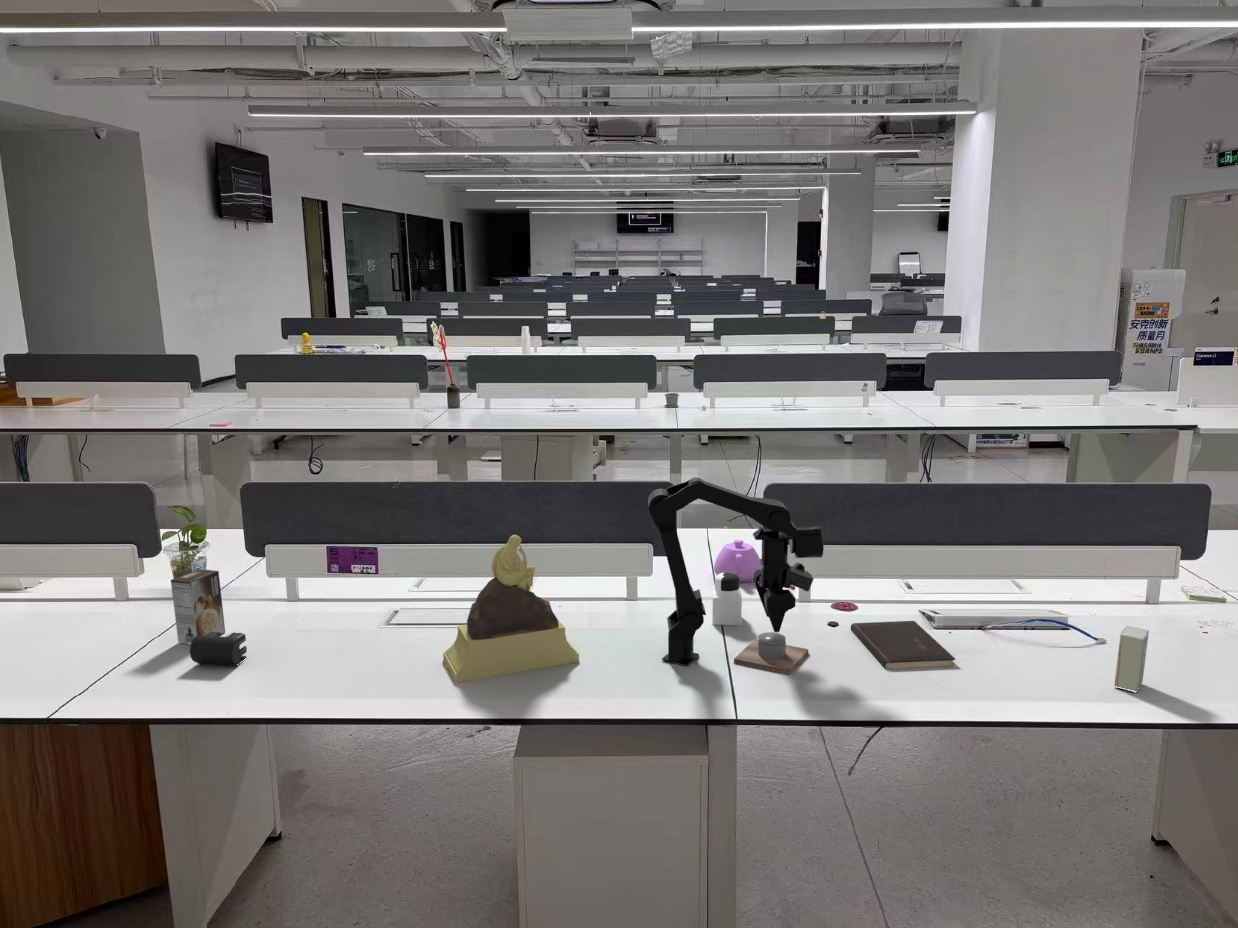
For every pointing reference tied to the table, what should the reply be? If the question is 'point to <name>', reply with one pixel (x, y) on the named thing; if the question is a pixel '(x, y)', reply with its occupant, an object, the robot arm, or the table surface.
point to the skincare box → (1131, 658)
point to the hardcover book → (901, 644)
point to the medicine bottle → (727, 600)
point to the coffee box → (197, 604)
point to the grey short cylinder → (771, 645)
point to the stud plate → (780, 665)
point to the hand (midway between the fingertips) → (772, 624)
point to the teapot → (738, 560)
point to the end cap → (218, 649)
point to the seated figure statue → (508, 625)
